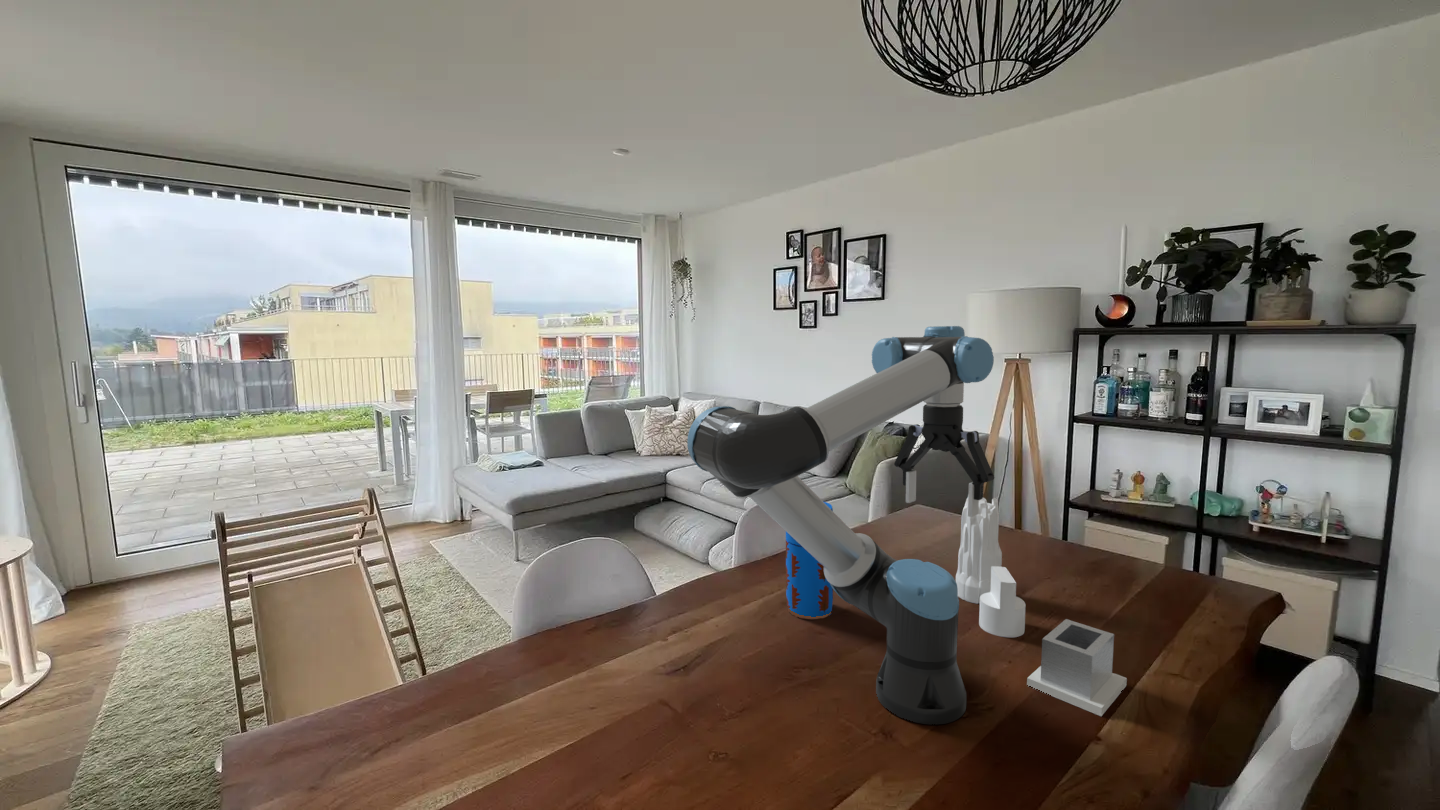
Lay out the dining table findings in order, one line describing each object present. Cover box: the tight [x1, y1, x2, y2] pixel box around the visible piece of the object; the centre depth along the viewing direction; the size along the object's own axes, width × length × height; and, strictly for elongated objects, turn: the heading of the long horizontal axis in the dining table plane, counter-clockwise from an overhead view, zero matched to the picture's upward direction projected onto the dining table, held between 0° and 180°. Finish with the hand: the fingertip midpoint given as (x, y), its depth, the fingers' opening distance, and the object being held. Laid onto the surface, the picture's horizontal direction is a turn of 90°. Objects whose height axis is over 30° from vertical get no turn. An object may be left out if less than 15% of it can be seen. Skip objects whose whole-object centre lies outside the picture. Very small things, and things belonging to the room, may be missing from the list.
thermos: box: [785, 501, 834, 617], centre depth 140 cm, size 11×11×25 cm
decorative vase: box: [955, 497, 1003, 605], centre depth 146 cm, size 11×11×25 cm
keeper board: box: [1026, 665, 1128, 717], centre depth 109 cm, size 13×12×7 cm
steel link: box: [1040, 618, 1115, 700], centre depth 109 cm, size 11×8×8 cm
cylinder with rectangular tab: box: [978, 566, 1026, 638], centre depth 131 cm, size 9×9×12 cm
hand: (940, 508), depth 122 cm, fingers open, 13 cm apart
